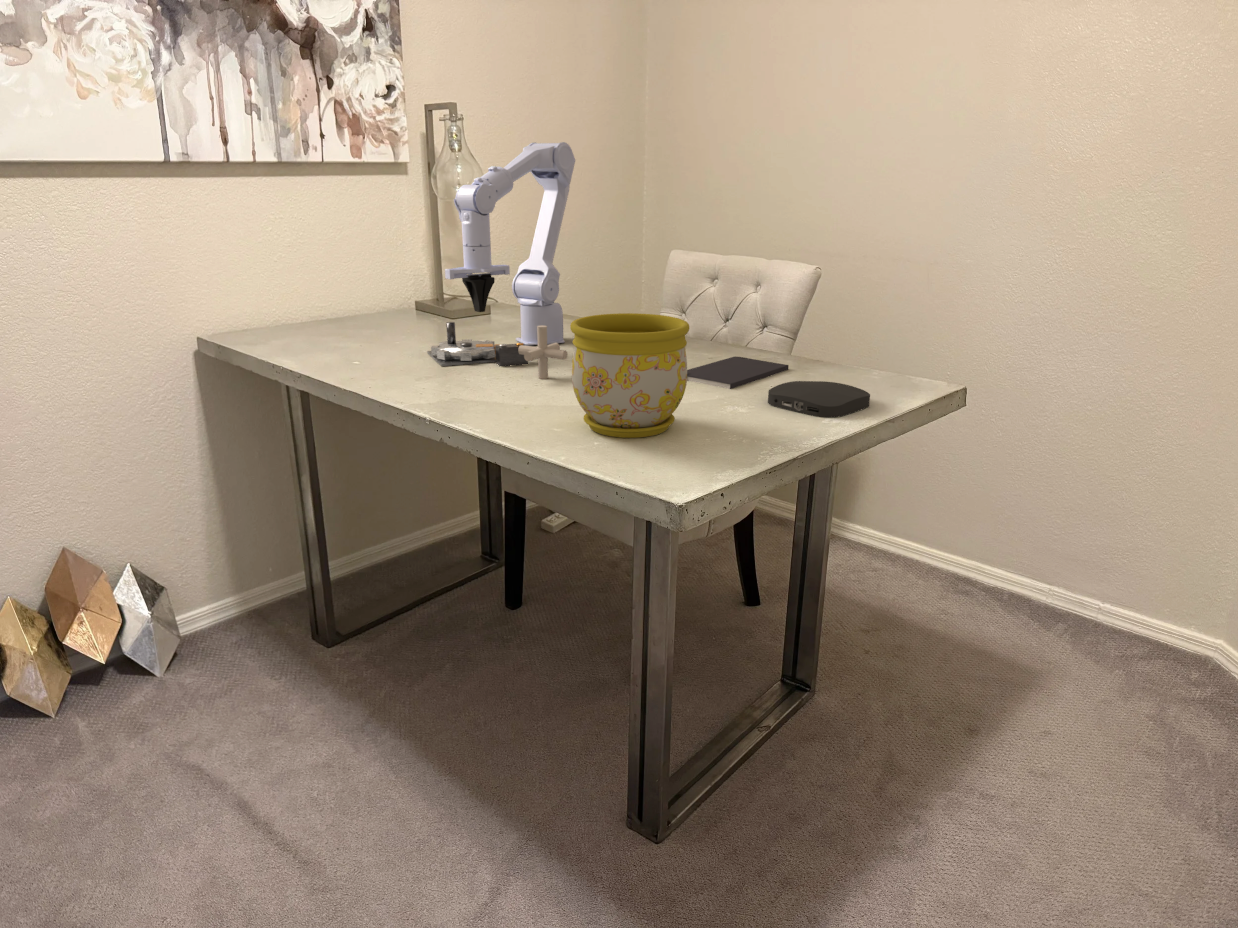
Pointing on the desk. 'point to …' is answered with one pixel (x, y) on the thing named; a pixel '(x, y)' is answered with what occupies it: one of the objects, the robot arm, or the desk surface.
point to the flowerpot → (629, 372)
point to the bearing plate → (458, 361)
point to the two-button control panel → (509, 355)
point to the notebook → (734, 372)
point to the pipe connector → (542, 352)
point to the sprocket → (463, 347)
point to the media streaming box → (818, 398)
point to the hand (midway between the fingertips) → (479, 311)
